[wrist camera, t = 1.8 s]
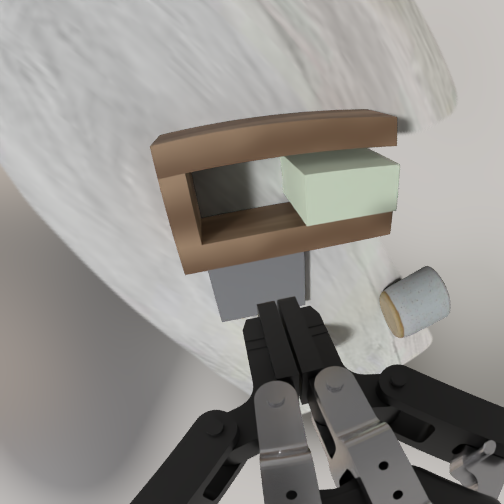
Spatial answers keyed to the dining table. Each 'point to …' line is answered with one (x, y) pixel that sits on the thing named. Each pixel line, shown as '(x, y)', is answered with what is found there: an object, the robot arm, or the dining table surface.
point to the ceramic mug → (415, 302)
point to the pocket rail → (267, 217)
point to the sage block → (340, 184)
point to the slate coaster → (257, 284)
